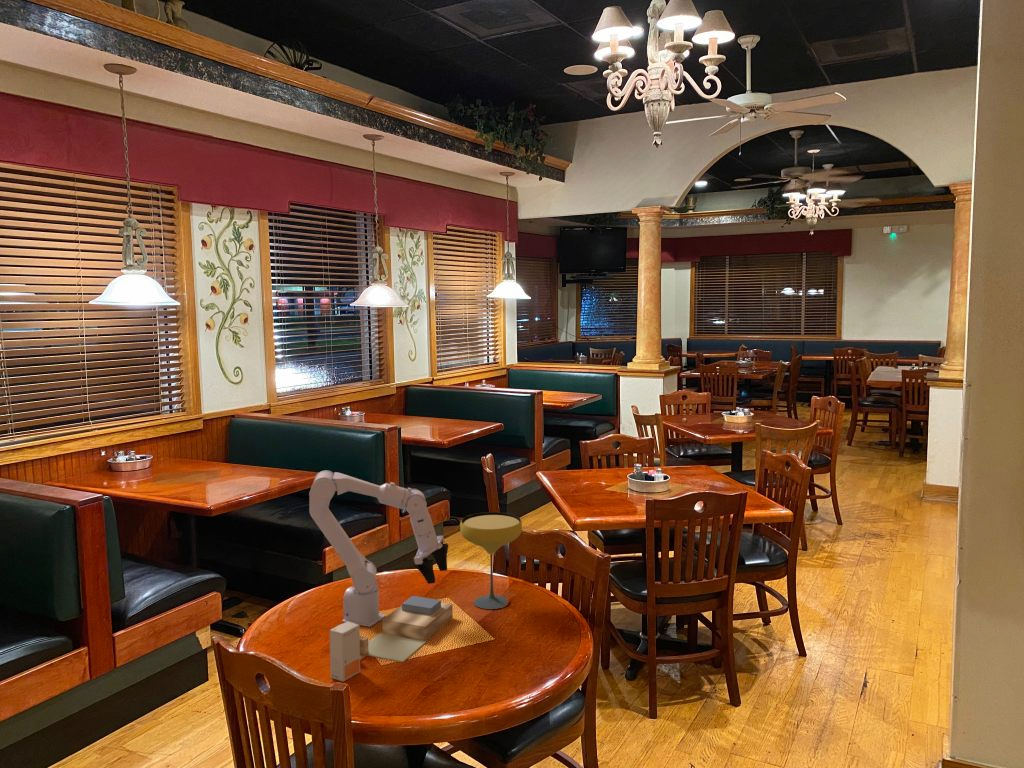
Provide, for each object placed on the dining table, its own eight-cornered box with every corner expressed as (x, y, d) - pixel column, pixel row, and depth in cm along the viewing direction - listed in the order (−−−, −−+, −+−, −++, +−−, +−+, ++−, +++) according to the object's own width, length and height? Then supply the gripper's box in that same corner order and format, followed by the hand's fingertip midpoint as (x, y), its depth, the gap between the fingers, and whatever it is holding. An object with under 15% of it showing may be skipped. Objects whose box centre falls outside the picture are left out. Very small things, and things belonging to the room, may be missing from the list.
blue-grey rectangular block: (402, 610, 210) (401, 603, 210) (412, 602, 216) (412, 595, 216) (430, 615, 207) (430, 608, 207) (441, 607, 213) (441, 600, 212)
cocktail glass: (448, 604, 225) (447, 521, 222) (489, 586, 238) (488, 508, 236) (494, 620, 213) (493, 533, 210) (534, 601, 227) (534, 519, 224)
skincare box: (343, 682, 179) (341, 633, 178) (330, 678, 181) (328, 629, 180) (361, 672, 184) (360, 624, 183) (348, 667, 186) (346, 620, 185)
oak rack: (338, 660, 190) (337, 644, 189) (352, 650, 195) (351, 634, 195) (355, 664, 188) (354, 647, 187) (368, 653, 193) (368, 637, 193)
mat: (354, 653, 194) (354, 652, 194) (380, 634, 205) (380, 633, 205) (402, 662, 189) (402, 661, 189) (426, 642, 200) (426, 641, 200)
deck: (382, 633, 205) (382, 619, 205) (412, 611, 220) (411, 597, 219) (425, 641, 200) (425, 626, 200) (452, 617, 215) (452, 604, 215)
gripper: (424, 541, 206) (438, 587, 208) (447, 520, 219) (460, 563, 221) (402, 544, 209) (416, 589, 211) (427, 522, 222) (440, 565, 224)
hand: (437, 576), depth 216 cm, fingers open, 7 cm apart
